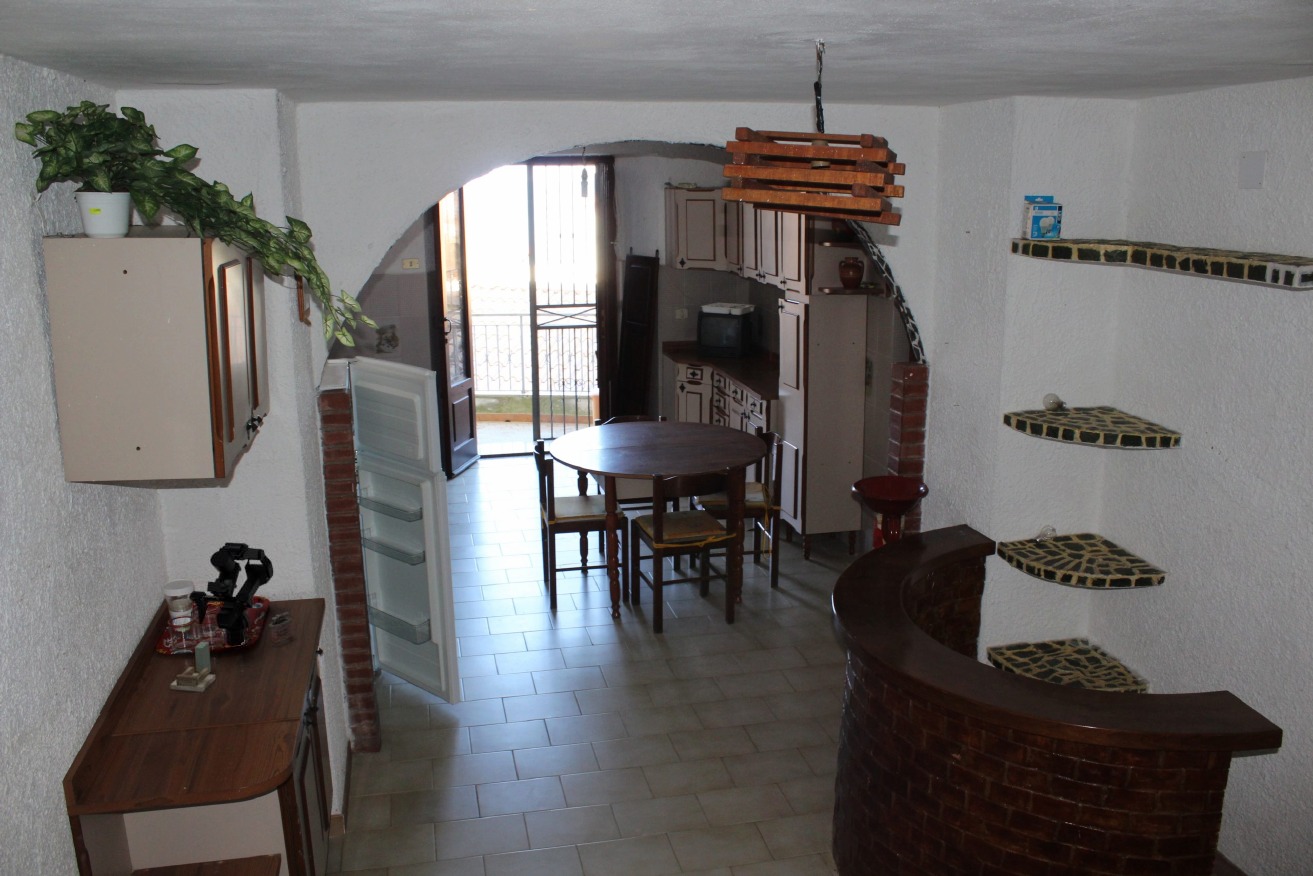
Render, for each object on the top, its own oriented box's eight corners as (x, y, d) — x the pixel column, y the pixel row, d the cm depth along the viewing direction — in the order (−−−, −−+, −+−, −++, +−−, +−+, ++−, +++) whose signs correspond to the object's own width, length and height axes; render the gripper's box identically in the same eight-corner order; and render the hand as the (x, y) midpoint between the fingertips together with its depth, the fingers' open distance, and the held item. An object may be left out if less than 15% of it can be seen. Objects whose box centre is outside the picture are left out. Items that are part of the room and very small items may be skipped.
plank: (203, 670, 318) (201, 641, 316) (210, 671, 318) (208, 642, 315) (196, 676, 314) (194, 647, 312) (204, 677, 314) (202, 648, 312)
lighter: (274, 648, 335) (272, 620, 332) (267, 645, 337) (266, 617, 334) (294, 639, 341) (293, 612, 339) (288, 636, 343) (286, 609, 341)
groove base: (184, 676, 314) (183, 663, 313) (215, 679, 313) (214, 665, 312) (170, 689, 306) (169, 675, 305) (202, 691, 306) (201, 678, 305)
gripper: (189, 567, 321) (175, 614, 313) (248, 571, 320) (235, 618, 313) (202, 580, 330) (189, 626, 323) (259, 584, 330) (247, 630, 322)
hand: (214, 625), depth 320 cm, fingers open, 9 cm apart
